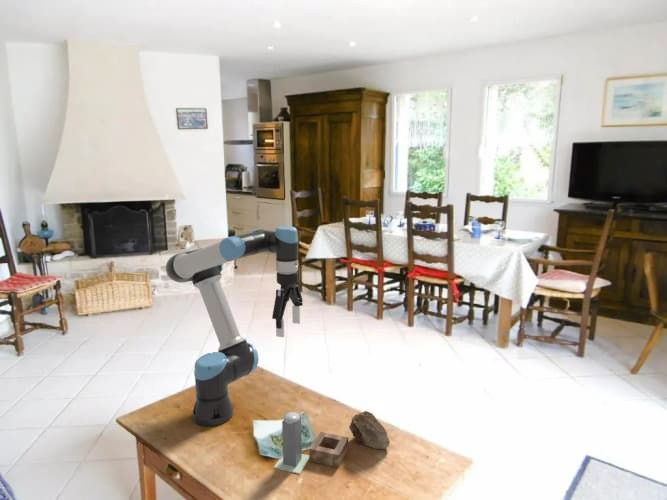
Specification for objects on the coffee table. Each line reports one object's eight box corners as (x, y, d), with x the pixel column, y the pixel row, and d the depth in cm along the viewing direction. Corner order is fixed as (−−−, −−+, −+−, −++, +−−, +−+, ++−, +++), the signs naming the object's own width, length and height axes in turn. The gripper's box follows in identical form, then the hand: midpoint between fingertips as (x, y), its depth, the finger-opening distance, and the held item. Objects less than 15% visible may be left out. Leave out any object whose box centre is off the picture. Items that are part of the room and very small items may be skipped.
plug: (282, 464, 152) (281, 419, 148) (288, 455, 156) (287, 411, 153) (296, 467, 150) (295, 422, 147) (302, 458, 154) (301, 413, 151)
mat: (273, 468, 150) (273, 466, 150) (285, 451, 159) (285, 450, 159) (299, 474, 147) (299, 473, 147) (310, 457, 156) (310, 455, 156)
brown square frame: (309, 461, 154) (309, 448, 153) (320, 443, 163) (320, 431, 162) (338, 467, 150) (338, 455, 150) (348, 449, 160) (348, 437, 159)
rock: (404, 426, 160) (370, 395, 162) (397, 441, 154) (362, 410, 156) (381, 445, 168) (349, 416, 170) (373, 460, 162) (340, 430, 164)
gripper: (281, 281, 151) (283, 344, 155) (311, 264, 174) (311, 319, 178) (260, 279, 153) (262, 341, 157) (292, 262, 176) (293, 316, 180)
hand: (288, 329), depth 168 cm, fingers open, 13 cm apart
